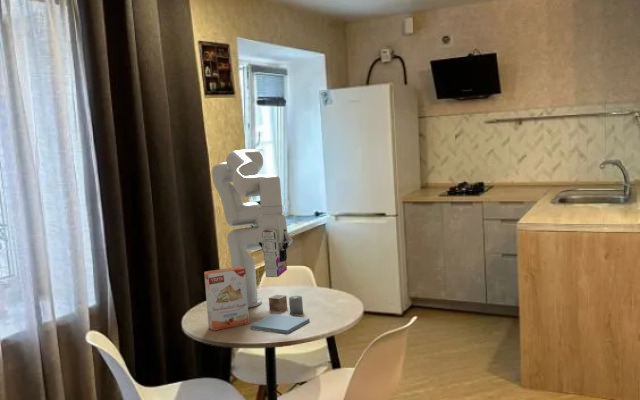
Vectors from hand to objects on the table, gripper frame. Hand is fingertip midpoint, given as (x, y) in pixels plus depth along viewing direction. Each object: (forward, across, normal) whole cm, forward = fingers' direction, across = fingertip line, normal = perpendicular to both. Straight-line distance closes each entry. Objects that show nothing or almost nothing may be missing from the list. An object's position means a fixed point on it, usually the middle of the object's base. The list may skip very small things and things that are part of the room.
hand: (275, 260), depth 203 cm
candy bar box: (+5, 0, 0) cm, 5 cm away
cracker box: (+24, -18, -7) cm, 31 cm away
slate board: (+24, 0, 0) cm, 24 cm away
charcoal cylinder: (+24, -3, +15) cm, 28 cm away
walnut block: (+24, -13, +17) cm, 32 cm away
